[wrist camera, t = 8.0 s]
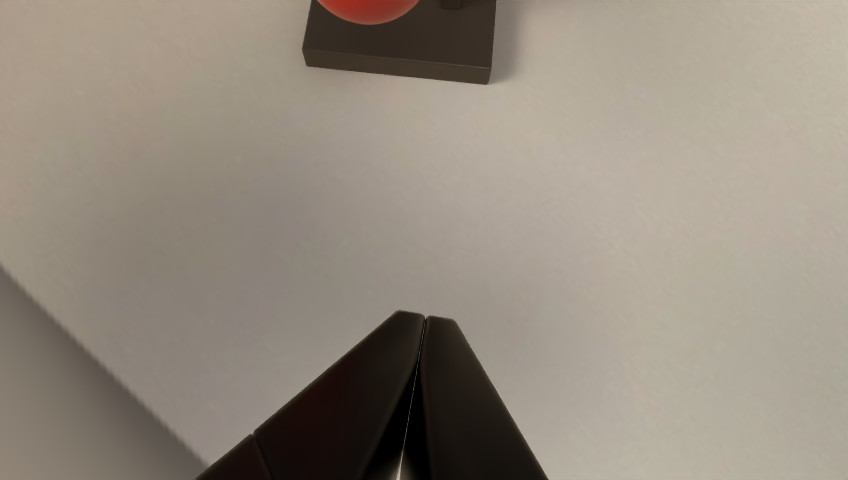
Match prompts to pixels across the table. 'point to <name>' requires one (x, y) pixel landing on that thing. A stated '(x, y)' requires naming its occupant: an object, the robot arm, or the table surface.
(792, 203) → the table surface
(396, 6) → the power switch
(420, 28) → the switch bracket
